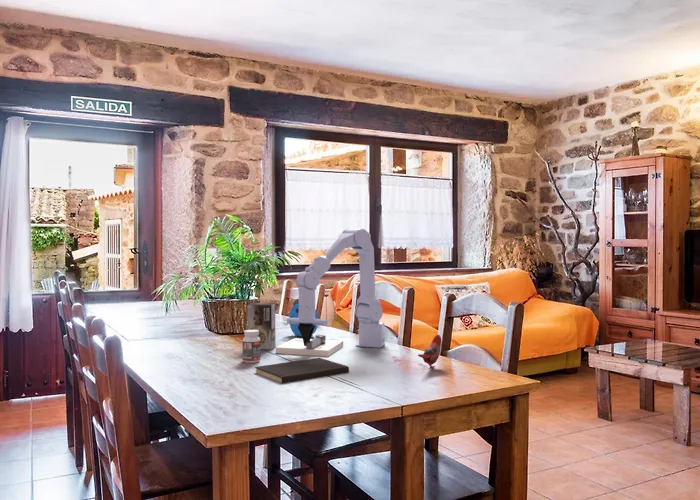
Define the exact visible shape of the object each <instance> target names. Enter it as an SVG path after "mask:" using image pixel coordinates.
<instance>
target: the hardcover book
mask: <svg viewBox="0 0 700 500" xmlns="http://www.w3.org/2000/svg"><path fill="white" fill-rule="evenodd" d="M254 369H255V373H256V374H259V375H261V376H263V377H266V378H268V379H270V380H273V381H276V382H277V383H280V384H281V385H282V384H283V385H284V384H289V383H293V382H300V381H306V379H307V380H312V378H313V379H319V378H325V377H329V376H336V374H337V375H340V374H342V373H343V374H349V373H350V367H349V366H348V365H345V364H341V363H339V362H335V361H333V360H329V359H325V358H321V357H316V358H315V357H314V358H308V359H301V360H295V361H294V360H293V361H287V362H286V361H285V362H280V363H273V364H266V365H258V366H254ZM348 372H349V373H348ZM324 376H325V377H324ZM318 377H319V378H318Z"/></svg>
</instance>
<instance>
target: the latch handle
mask: <svg viewBox="0 0 700 500" xmlns="http://www.w3.org/2000/svg"><path fill="white" fill-rule="evenodd" d="M312 339H313V340H311V341H309V342H307V343H306V349H313V348H315V347H316V346H318V345H320V344H322V343H325V341H326V340H327V337H326V335H323V334H318V335H315V338H312Z"/></svg>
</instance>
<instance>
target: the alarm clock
mask: <svg viewBox="0 0 700 500" xmlns="http://www.w3.org/2000/svg"><path fill="white" fill-rule="evenodd" d="M288 318H299V298H296V299H294V301H292V307H291V309H290V311H289V316H288ZM315 319H319V315H318V311H317V309H316V308H315ZM298 326H299V324H289V327H290V330H291V332H292V333H293V334H294V335H295V336H296V337H302V335H301V333H300V331H299V329H298ZM318 326H319V325H316V327H315V329H314V331H313V333H312V336H311V338H313V337H314V334H315V333H316V332H317V329H318Z"/></svg>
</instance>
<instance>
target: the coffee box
mask: <svg viewBox="0 0 700 500" xmlns="http://www.w3.org/2000/svg"><path fill="white" fill-rule="evenodd" d="M246 307H247V330H259V335H258V337H259V338H260V350H273V349H274V348H276V347H277V346H276V302H251V303H249V304H247V305H246Z"/></svg>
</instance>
